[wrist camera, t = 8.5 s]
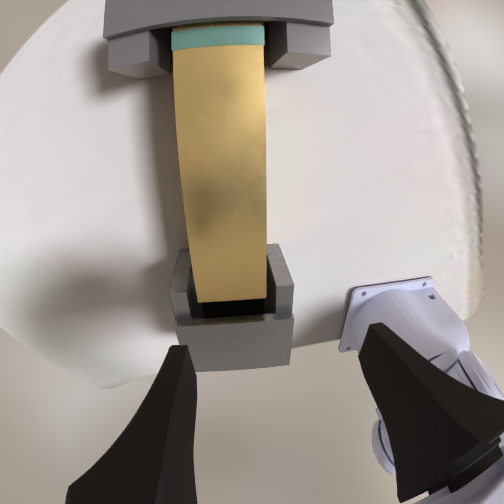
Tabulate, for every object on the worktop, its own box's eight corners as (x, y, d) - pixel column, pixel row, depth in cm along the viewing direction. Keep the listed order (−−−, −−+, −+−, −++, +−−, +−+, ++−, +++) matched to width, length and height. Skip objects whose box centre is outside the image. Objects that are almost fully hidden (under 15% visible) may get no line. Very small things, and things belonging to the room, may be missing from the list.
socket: (299, 15, 12) (330, -17, 7) (302, 69, 14) (335, 54, 9) (138, 24, 11) (106, -4, 7) (138, 79, 13) (102, 68, 8)
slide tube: (253, 39, 13) (263, 17, 9) (258, 259, 20) (267, 298, 16) (184, 44, 12) (171, 22, 9) (201, 263, 20) (197, 303, 16)
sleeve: (278, 243, 20) (296, 291, 15) (276, 317, 23) (288, 368, 18) (179, 250, 19) (167, 299, 14) (193, 323, 23) (189, 376, 18)
